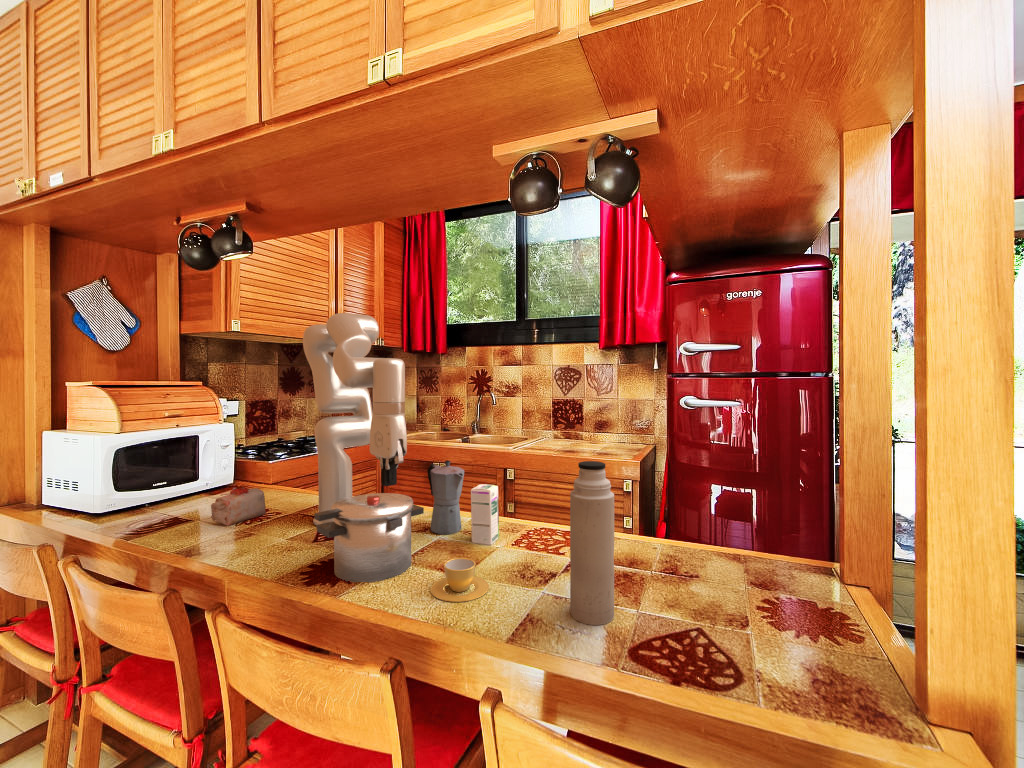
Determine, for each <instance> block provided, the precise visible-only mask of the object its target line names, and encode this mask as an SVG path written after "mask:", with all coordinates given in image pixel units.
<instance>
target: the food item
mask: <svg viewBox="0 0 1024 768" xmlns="http://www.w3.org/2000/svg"><path fill="white" fill-rule="evenodd" d="M265 498H266V497H265V492H264V491H263V490H262V489H259V488H254V487H253V488H250V489H246V488H245V487H241V488H236V487H233V488H232V490H230V491H229V494H226V495H223V496H221V497H217V498H216V499H215V501H214V502H212V504H210V512H211V516H210V518H211V519H212V520H213V521H216V522H217V523H219V524H221V525H224V526H227V527H229V526H233V525H235V524H238V523H241V522H244V521H247V520H251V519H254V518H257V517H260V516H263V515H265V514H267V511H266V502H265V501H266V500H265Z"/></svg>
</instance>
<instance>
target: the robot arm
mask: <svg viewBox="0 0 1024 768" xmlns="http://www.w3.org/2000/svg"><path fill="white" fill-rule="evenodd" d="M379 335H380V327H379V324H378V321H377V320H376V319H375V318H374V317H373V316H371V315H368V314H359V313H348V312H347V313H346V312H338V313H335V314H332V315H331V316H330V317H329V318H328V319H327V320H326V324H324V323H323V324H312V325H310V326H308V327H306V328H305V330H304V332H303V335H302V344H303V345H302V347H303V352H304V355H305V358H306V360H307V363H308V364H309V366H310V369H311V373H312V379H313V381H312V382H313V387H314V389H313V390H314V395H315V396H314V397H315V402H316V407H317V409H318V411H320V413H323V414H344V413H345V414H347V413H352V414H353V415H340V416H327V417H324V418H322V419H319V420H318V422H316V424H315V426H314V438H315V445H316V450H317V466H318V470H317V471H318V472H317V473H318V477H317V478H318V507H317V509H318V513H319V512H323V511H328V510H331V507H332V505H333V504H334V503H336V502H337V501H340V500H342V499H345V498H349V497H353V463H352V459H351V457H350V456H349V454H347V453H346V451H345V450H344V448H352V447H362V446H366V445H369V453H370V455H372V456H374V457H375V459H377V460H379V466H380V469H381V485H382V486H383V487H390V486H394V485H397V482H398V480H397V479H398V478H397V476H398V473H397V472H398V471H397V469H398V467H399V464H403V463H404V457H405V456H407V451H408V448H407V447H408V439H407V438H408V436H407V425H406V418H405V417H406V363H405V362H404V360H403V359H401V358H395V357H394V358H392V357H386V358H385V357H366V356H367V355H368V354H369V353H370V351H371V348H372V345H373V344H375V342H376V341H377V339H378V338H379ZM329 353H333V355H330V354H329ZM368 388H372V398H371V395H370V390H369V389H368ZM371 399H372V401H371ZM332 521H334V518H332V519H328V520H324V521H318V520H316V519H315V517H314V518H313V521H312V522H313V525H315V526H316V527H317V525H319V524H323V523H327V522H332Z"/></svg>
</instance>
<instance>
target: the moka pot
mask: <svg viewBox="0 0 1024 768" xmlns="http://www.w3.org/2000/svg"><path fill="white" fill-rule="evenodd" d="M444 463H445V464H444V465H442V466H440V465H438V464H434V463H430V466H429V467H428V468H427V470H426V471H427V478H428V483H429V487H430V488H429V489H430V494H431V496H433V507H432V514H431V520H430V528H429V529H430V531H431V532H432V533H435V534H437V535H451V534H452V535H453V534H456V533H459V532H460V531H461V530H462V520H461V518H462V517H461V512H460V510H461V509H460V508H461V507H460V503H459V502H460V497H461V495H462V492H463V491H462V490H463V484H464V483H463V482H464V478H465V477H464V476H465V469H463V468H462V467H459V466H455V465H454V466H452V465H451V460H444Z"/></svg>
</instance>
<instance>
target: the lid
mask: <svg viewBox="0 0 1024 768" xmlns="http://www.w3.org/2000/svg"><path fill="white" fill-rule="evenodd" d="M413 504H414V500H413V498H412V497H411V496H409V495H406V494H401V493H393V492H391V493H389V492H387V493H386V492H380V493H368V494H367V493H365V494H359V495H355V496H354V495H352V497H349V498H345V499H342V500H340V501H337V502H336V503H334V504H333V505H332V507H331V510H328V511H323V512H319V511H318V512H314V518H315V519H316V520H318V521H324V520H328V519H332V518H335V519H337V520H341V521H346V522H375V521H383V520H388V519H393V518H397V517H400V516H403V515H405V514H407V513H409V512H411V511H412V510H413Z"/></svg>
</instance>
